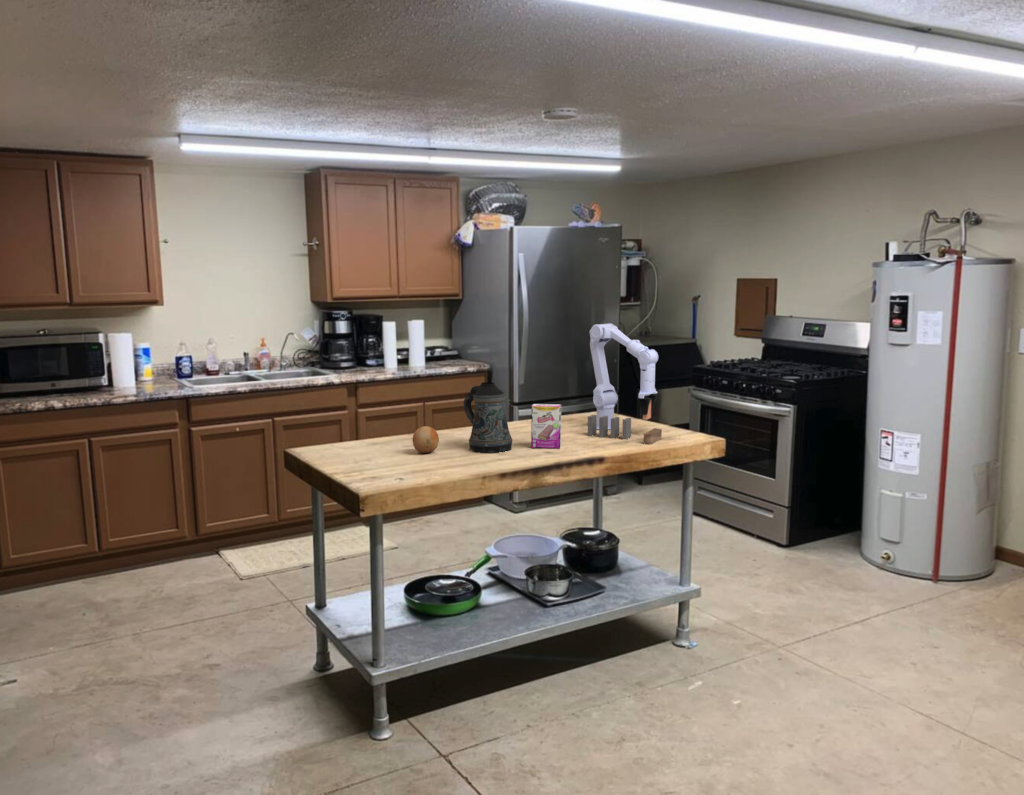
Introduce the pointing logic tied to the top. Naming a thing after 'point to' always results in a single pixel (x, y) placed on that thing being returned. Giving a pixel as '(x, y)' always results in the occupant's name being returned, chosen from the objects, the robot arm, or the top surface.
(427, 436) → the onion
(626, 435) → the domino
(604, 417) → the domino
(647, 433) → the end block
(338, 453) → the top surface
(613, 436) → the domino
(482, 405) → the beer stein
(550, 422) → the candy bar box
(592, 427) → the domino
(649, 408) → the domino
